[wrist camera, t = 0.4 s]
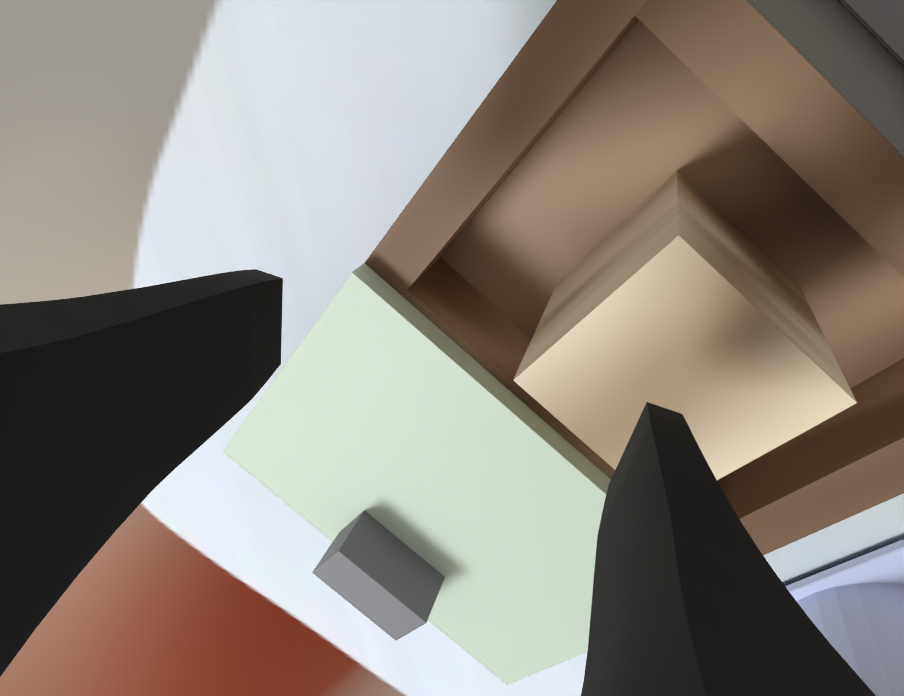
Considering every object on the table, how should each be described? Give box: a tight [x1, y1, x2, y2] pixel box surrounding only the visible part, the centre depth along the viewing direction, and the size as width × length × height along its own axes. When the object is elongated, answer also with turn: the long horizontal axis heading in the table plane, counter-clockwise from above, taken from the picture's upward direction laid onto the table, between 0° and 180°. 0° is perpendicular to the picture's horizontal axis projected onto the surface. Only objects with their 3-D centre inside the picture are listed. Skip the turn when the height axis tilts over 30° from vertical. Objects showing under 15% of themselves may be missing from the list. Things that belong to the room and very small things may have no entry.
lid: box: [222, 263, 611, 685], centre depth 20 cm, size 15×10×3 cm
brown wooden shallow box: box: [365, 0, 904, 555], centre depth 19 cm, size 15×22×4 cm
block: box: [513, 171, 857, 480], centre depth 15 cm, size 5×5×6 cm
